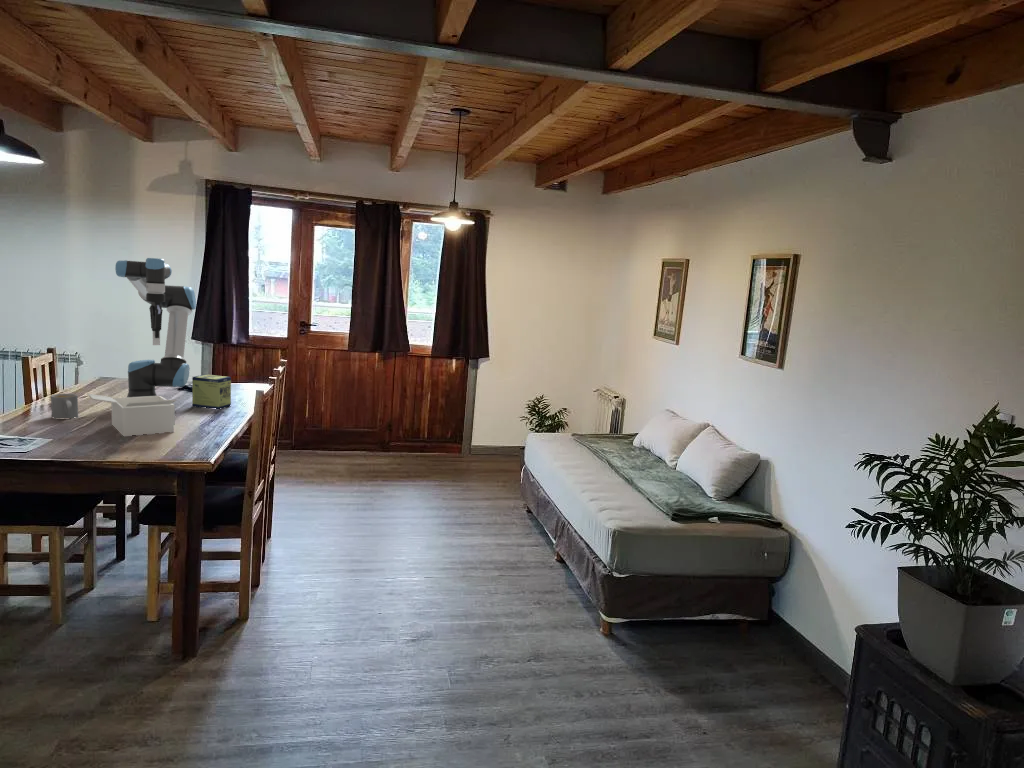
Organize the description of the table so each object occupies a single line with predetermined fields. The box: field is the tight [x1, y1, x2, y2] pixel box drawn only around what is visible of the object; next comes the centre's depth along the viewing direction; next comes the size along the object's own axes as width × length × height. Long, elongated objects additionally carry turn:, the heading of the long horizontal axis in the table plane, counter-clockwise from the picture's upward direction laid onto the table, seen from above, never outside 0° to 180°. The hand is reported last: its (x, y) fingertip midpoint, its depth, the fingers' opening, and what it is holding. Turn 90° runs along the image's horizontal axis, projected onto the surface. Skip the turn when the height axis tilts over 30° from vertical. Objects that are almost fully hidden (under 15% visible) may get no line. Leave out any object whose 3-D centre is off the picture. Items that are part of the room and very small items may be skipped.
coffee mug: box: [50, 393, 79, 419], centre depth 305 cm, size 13×10×10 cm
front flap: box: [126, 399, 177, 406], centre depth 281 cm, size 1×17×9 cm
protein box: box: [191, 374, 232, 410], centre depth 349 cm, size 10×16×16 cm
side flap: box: [86, 393, 118, 404], centre depth 286 cm, size 13×1×9 cm
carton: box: [111, 395, 176, 437], centre depth 295 cm, size 24×20×12 cm
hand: (156, 345), depth 311 cm, fingers closed
